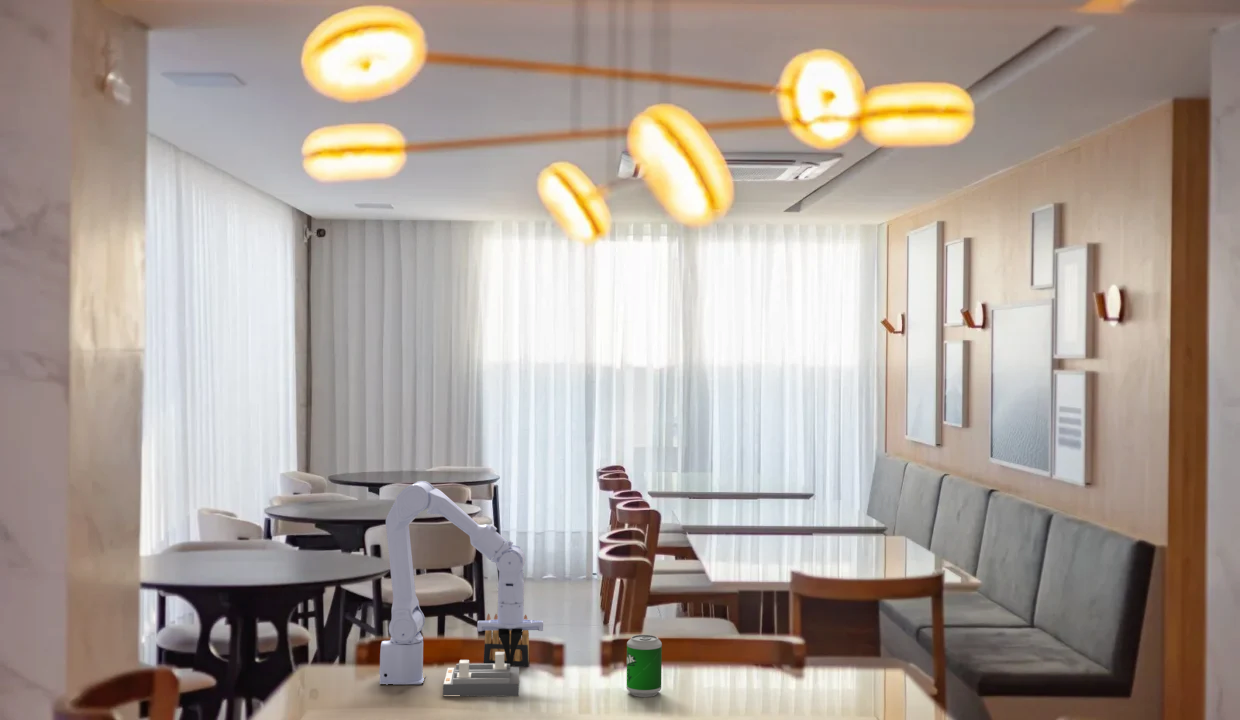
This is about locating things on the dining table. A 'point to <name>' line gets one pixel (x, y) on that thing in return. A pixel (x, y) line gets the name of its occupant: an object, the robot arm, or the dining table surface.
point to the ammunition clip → (494, 646)
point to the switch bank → (482, 681)
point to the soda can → (644, 665)
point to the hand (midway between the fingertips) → (509, 662)
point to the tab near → (464, 669)
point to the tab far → (499, 661)
